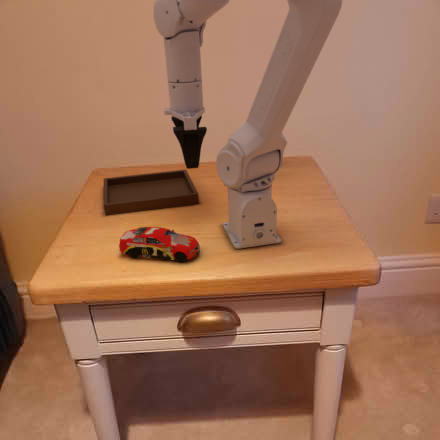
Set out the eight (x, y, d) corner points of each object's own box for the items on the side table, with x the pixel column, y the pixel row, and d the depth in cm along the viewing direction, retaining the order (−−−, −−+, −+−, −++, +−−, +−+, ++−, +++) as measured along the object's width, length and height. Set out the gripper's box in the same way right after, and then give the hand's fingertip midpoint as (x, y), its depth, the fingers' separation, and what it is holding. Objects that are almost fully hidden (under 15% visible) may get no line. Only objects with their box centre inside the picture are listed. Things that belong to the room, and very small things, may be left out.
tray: (199, 203, 85) (198, 193, 84) (105, 215, 82) (103, 205, 81) (186, 178, 98) (186, 169, 97) (105, 187, 95) (103, 178, 94)
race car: (204, 248, 70) (202, 226, 68) (194, 265, 66) (193, 242, 63) (130, 241, 73) (126, 220, 71) (117, 257, 69) (112, 235, 66)
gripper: (160, 75, 76) (168, 151, 84) (161, 88, 65) (170, 175, 72) (199, 73, 77) (203, 148, 85) (207, 86, 65) (211, 172, 73)
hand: (190, 161), depth 79 cm, fingers open, 7 cm apart
